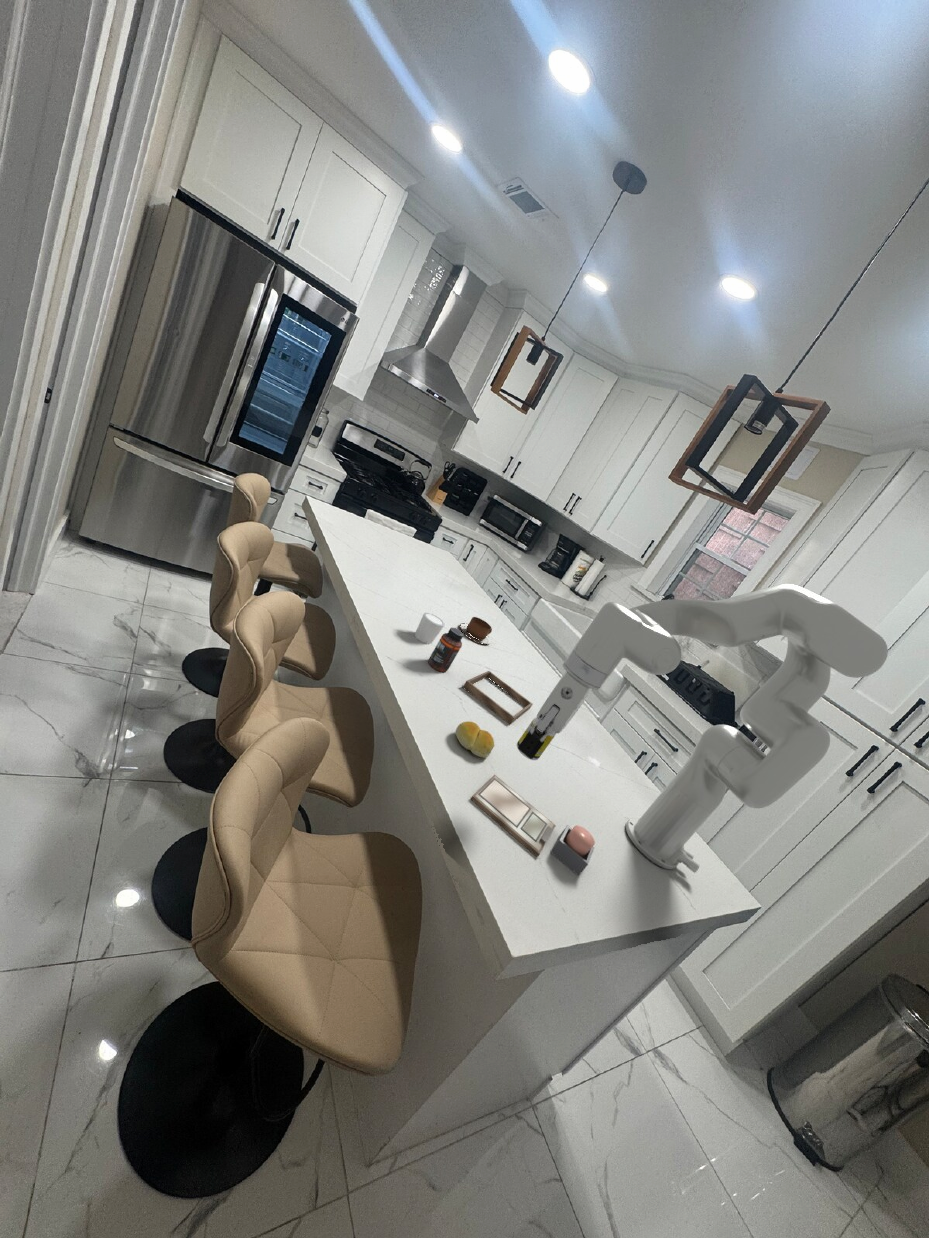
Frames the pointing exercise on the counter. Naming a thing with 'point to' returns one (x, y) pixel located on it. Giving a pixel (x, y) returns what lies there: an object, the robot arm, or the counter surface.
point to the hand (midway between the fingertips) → (530, 747)
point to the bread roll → (475, 739)
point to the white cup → (429, 628)
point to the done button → (580, 840)
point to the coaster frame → (492, 704)
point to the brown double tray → (514, 814)
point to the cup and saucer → (478, 629)
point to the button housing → (570, 853)
